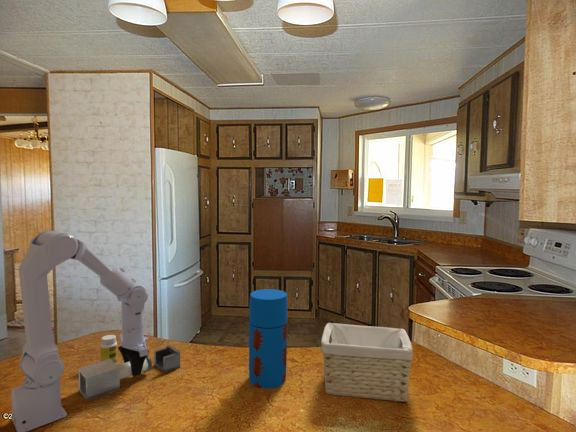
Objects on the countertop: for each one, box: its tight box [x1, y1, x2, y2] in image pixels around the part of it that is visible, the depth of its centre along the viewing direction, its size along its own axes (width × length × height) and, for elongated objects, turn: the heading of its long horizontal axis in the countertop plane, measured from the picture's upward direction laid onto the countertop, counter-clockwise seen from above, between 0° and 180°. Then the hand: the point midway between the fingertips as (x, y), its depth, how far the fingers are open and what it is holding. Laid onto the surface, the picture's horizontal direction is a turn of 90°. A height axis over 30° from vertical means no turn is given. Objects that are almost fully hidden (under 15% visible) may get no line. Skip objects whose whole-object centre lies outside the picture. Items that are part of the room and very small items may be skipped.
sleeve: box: [78, 359, 121, 402], centre depth 99 cm, size 8×7×6 cm
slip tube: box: [116, 354, 153, 380], centre depth 103 cm, size 16×4×4 cm, turn 136°
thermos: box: [248, 288, 288, 390], centre depth 105 cm, size 11×11×25 cm
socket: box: [153, 344, 181, 374], centre depth 113 cm, size 5×7×5 cm
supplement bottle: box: [99, 334, 118, 365], centre depth 114 cm, size 5×5×8 cm
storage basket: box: [320, 322, 414, 403], centre depth 103 cm, size 24×16×15 cm
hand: (133, 372), depth 105 cm, fingers closed on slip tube, 4 cm apart
